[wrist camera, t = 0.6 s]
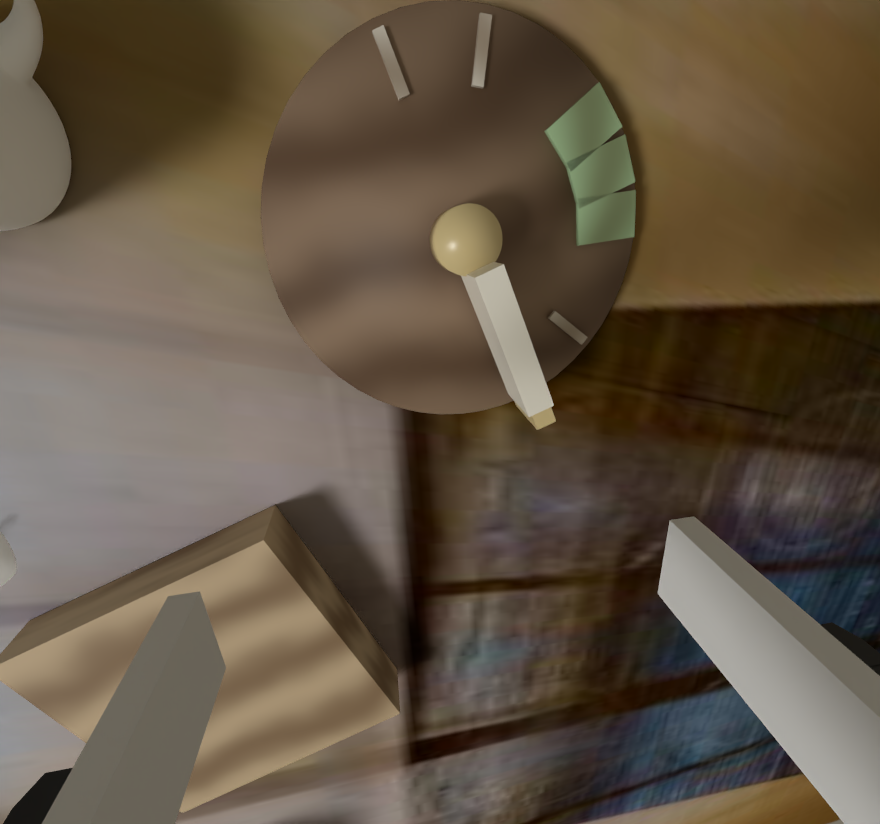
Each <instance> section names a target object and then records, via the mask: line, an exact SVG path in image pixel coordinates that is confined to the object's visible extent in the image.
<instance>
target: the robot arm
mask: <svg viewBox="0 0 880 824" xmlns="http://www.w3.org/2000/svg"><path fill="white" fill-rule="evenodd" d="M658 595H659V596H660V597H661V598H662V599H663V601H664V602H665V603H666V604H667V606H668V607H669V608H670V609H671V611H672V612H673V613H674V614H675V616H676V617H677V618H678V619H679V620H680V622H681V623H682V624H683V625H684V627H685V628H686V629H687V630H688V632H689V633H690V634H691V635H692V636H693V638H694V639H695V640H696V641H697V643H698V644H699V645H700V646H701V648H702V649H703V650H704V651H705V652H706V654H707V655H708V656H709V657H710V659H711V660H712V661H713V662H714V664H715V665H716V666H717V667H718V668H719V670H720V671H721V672H722V673H723V675H724V676H725V677H726V678H727V680H728V681H729V682H730V683H731V685H732V686H733V687H734V688H735V689H736V691H737V692H738V693H739V694H740V696H741V697H742V698H743V699H744V701H745V702H746V703H747V704H748V705H749V707H750V708H751V709H752V710H753V712H754V713H755V714H756V715H757V717H758V718H759V719H760V720H761V721H762V723H763V724H764V725H765V726H766V728H767V729H768V730H769V731H770V733H771V734H772V735H773V736H774V737H775V739H776V740H777V741H778V742H779V744H780V745H781V746H782V747H783V749H784V750H785V751H786V752H787V754H788V755H789V756H790V757H791V758H792V760H793V761H794V762H795V763H796V765H797V766H798V767H799V768H800V770H801V771H802V772H803V773H804V774H805V776H806V777H807V778H808V779H809V781H810V782H811V783H812V784H813V786H814V787H815V788H816V789H817V790H818V792H819V793H820V794H821V795H822V797H823V798H824V799H825V800H826V802H827V803H828V804H829V805H830V807H831V808H832V809H833V810H834V811H835V813H836V814H837V815H838V816H839V818H840V819H841V820H842V821H843V822H844V824H880V653H878V652H877V651H876V650H875V649H874V648H872V647H871V646H870V645H869V644H867V643H866V642H865V641H864V640H862V639H861V638H859V637H857V636H855V635H853V634H852V633H850V632H848V631H846V630H844V629H843V628H841V627H839V626H837V625H835V624H834V623H827V624H822V625H820V624H819V623H817V622H816V621H815V620H814V619H813V618H812V617H810V616H809V615H808V614H807V613H806V612H805V611H803V610H802V609H801V608H800V607H799V606H798V605H796V604H795V603H794V602H793V601H792V600H791V599H789V598H788V597H787V596H786V595H785V594H784V593H782V592H781V591H780V590H779V589H778V588H777V587H775V586H774V585H773V584H772V583H771V582H770V581H769V580H767V579H766V578H765V577H764V576H763V575H762V574H760V573H759V572H758V571H757V570H756V569H755V568H753V567H752V566H751V565H750V564H749V563H748V562H746V561H745V560H744V559H743V558H742V557H741V556H739V555H738V554H737V553H736V552H735V551H734V550H732V549H731V548H730V547H729V546H728V545H727V544H725V543H724V542H723V541H722V540H721V539H720V538H718V537H717V536H716V535H715V534H714V533H713V532H711V531H710V530H709V529H708V528H707V527H706V526H704V525H703V524H702V523H701V522H700V521H699V520H697V519H696V518H695V517H688V518H682V519H675V520H670V522H669V528H668V534H667V540H666V546H665V552H664V558H663V564H662V570H661V576H660V582H659V588H658ZM225 670H226V666H225V663H224V660H223V657H222V654H221V651H220V648H219V645H218V642H217V639H216V637H215V634H214V631H213V628H212V625H211V622H210V619H209V616H208V613H207V610H206V608H205V605H204V602H203V599H202V596H201V593H200V591H199V592H192V593H186V594H179V595H173V596H168V597H167V599H166V601H165V603H164V605H163V606H162V608H161V610H160V612H159V614H158V615H157V617H156V619H155V621H154V623H153V624H152V626H151V628H150V630H149V632H148V633H147V635H146V637H145V639H144V641H143V642H142V644H141V646H140V648H139V650H138V651H137V653H136V655H135V657H134V659H133V660H132V662H131V664H130V666H129V668H128V669H127V671H126V673H125V675H124V677H123V678H122V680H121V682H120V684H119V686H118V687H117V689H116V691H115V693H114V695H113V696H112V698H111V700H110V702H109V704H108V705H107V707H106V709H105V711H104V713H103V714H102V716H101V718H100V720H99V722H98V723H97V725H96V727H95V729H94V731H93V732H92V734H91V736H90V738H89V740H88V741H87V743H86V745H85V747H84V749H83V750H82V752H81V754H80V756H79V758H78V759H77V761H76V763H75V765H74V767H73V768H69V769H64V770H59V771H54V772H48V773H45V774H44V775H43V776H42V777H41V778H40V779H39V780H38V781H37V782H36V784H35V785H34V786H33V787H32V788H31V789H30V790H29V791H28V792H27V793H26V794H25V795H24V797H23V798H22V799H21V800H20V801H19V802H18V803H17V804H16V805H15V806H14V807H13V808H12V810H11V812H10V813H9V815H8V816H7V818H6V820H5V821H4V823H3V824H175V822H176V819H177V816H178V813H179V810H180V807H181V804H182V800H183V797H184V794H185V791H186V788H187V785H188V782H189V779H190V776H191V773H192V770H193V767H194V764H195V761H196V758H197V755H198V752H199V749H200V746H201V743H202V740H203V737H204V734H205V731H206V727H207V724H208V721H209V718H210V715H211V712H212V709H213V706H214V703H215V700H216V697H217V694H218V691H219V688H220V685H221V682H222V679H223V676H224V673H225Z"/></svg>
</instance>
